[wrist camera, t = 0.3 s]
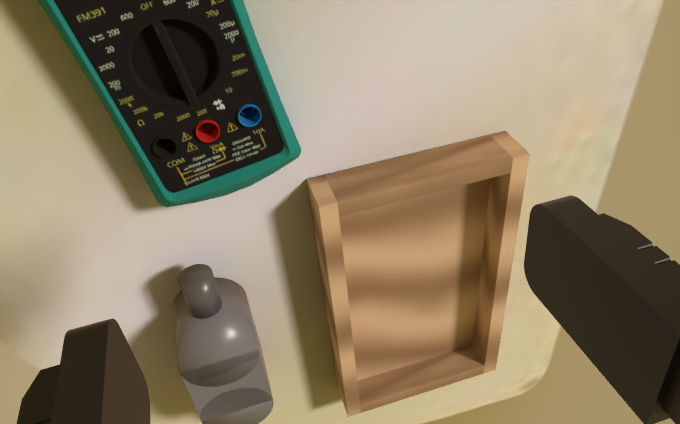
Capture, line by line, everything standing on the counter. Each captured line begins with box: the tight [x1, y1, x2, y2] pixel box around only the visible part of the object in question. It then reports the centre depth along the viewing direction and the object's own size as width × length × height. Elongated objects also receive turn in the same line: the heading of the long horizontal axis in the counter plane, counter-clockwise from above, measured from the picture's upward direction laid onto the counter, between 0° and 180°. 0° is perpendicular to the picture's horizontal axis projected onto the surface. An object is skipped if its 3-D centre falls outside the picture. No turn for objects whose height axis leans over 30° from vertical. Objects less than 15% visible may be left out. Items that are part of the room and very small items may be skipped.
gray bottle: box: [173, 264, 273, 424], centre depth 34 cm, size 14×4×4 cm, turn 5°
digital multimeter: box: [38, 0, 301, 207], centre depth 23 cm, size 7×15×3 cm, turn 15°
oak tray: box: [307, 131, 529, 417], centre depth 37 cm, size 20×12×3 cm, turn 6°
